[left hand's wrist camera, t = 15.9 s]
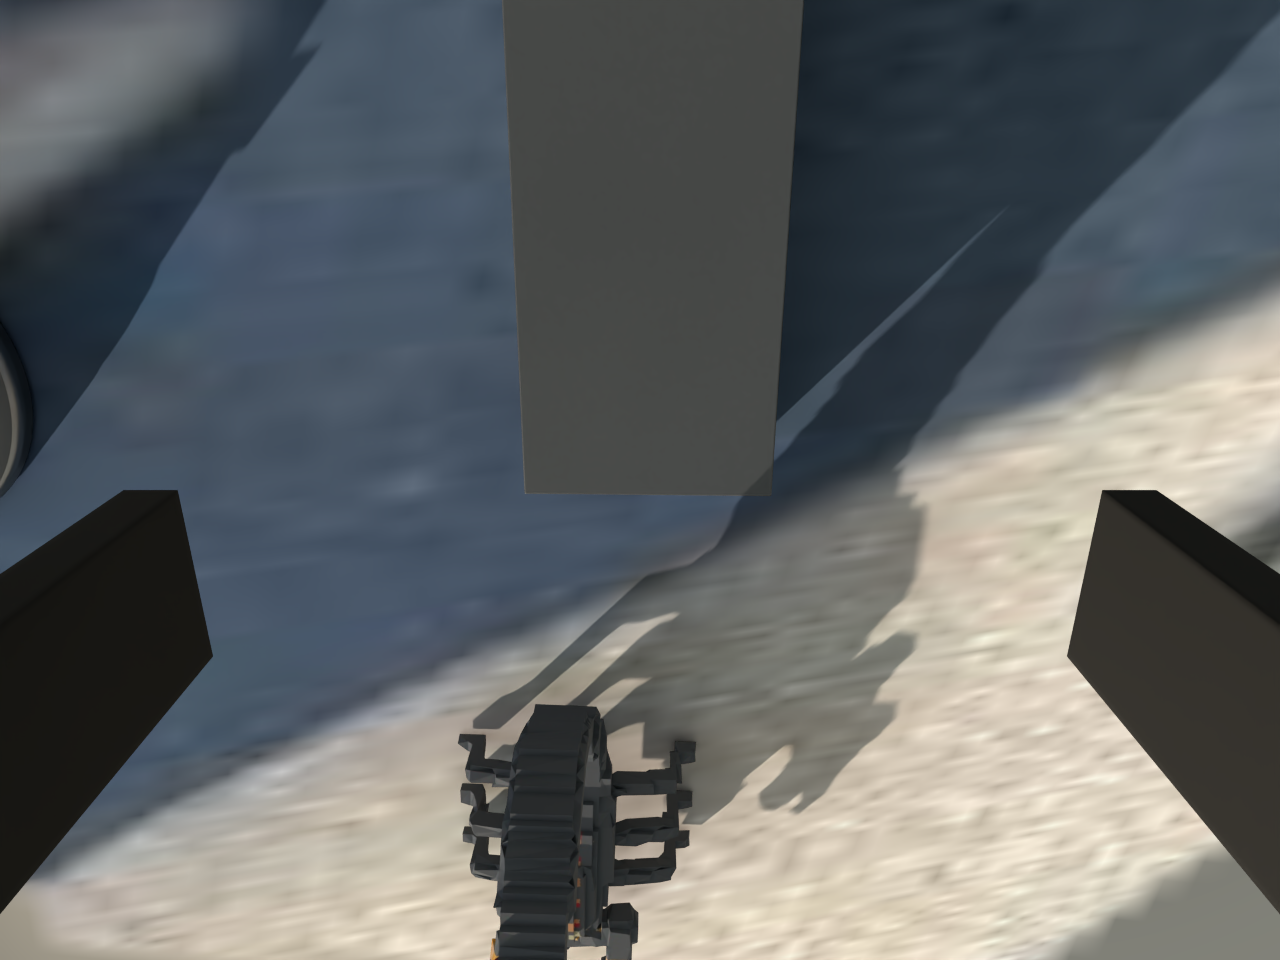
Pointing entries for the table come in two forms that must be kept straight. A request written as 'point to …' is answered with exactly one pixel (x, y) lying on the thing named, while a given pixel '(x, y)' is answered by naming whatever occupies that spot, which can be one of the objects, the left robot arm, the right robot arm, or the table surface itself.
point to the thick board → (650, 239)
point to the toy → (567, 835)
